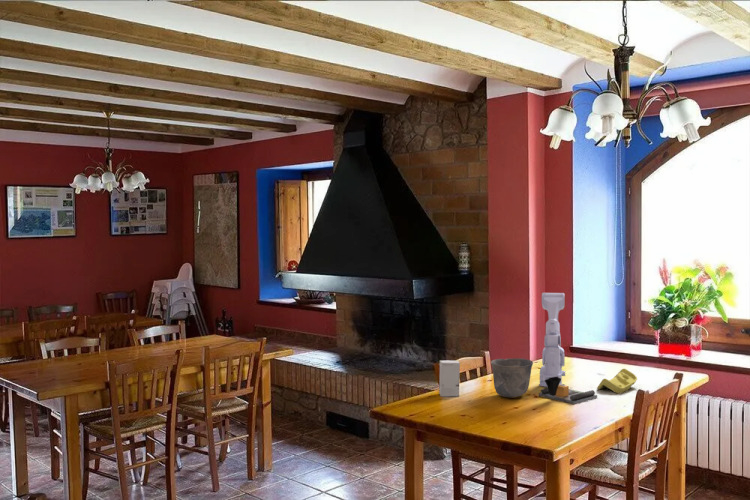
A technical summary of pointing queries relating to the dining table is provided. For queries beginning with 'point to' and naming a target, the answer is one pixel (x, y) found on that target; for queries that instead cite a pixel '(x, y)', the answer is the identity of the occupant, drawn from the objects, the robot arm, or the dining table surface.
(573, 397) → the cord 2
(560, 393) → the toggle
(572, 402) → the panel
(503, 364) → the gray stone pot
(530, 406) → the dining table surface
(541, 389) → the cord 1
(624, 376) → the plastic component
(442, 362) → the skincare box
